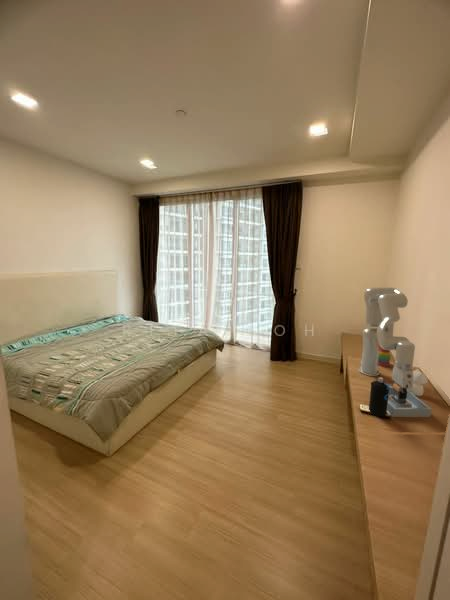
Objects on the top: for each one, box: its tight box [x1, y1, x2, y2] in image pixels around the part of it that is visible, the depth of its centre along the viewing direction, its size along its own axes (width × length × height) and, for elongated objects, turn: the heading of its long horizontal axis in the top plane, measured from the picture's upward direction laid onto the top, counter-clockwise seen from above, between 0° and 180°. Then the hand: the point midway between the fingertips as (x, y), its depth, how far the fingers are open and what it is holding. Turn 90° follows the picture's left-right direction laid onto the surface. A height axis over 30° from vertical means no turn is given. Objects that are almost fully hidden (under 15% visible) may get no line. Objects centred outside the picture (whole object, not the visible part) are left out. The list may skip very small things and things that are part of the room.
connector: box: [392, 383, 406, 403], centre depth 127 cm, size 4×4×9 cm
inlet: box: [388, 395, 412, 408], centre depth 128 cm, size 8×8×3 cm
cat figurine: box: [411, 368, 428, 397], centre depth 137 cm, size 9×12×15 cm
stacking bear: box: [377, 343, 392, 368], centre depth 173 cm, size 11×10×18 cm
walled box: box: [387, 386, 432, 418], centre depth 128 cm, size 20×18×5 cm
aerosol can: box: [368, 376, 391, 418], centre depth 121 cm, size 8×8×20 cm
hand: (399, 395), depth 127 cm, fingers closed on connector, 4 cm apart
